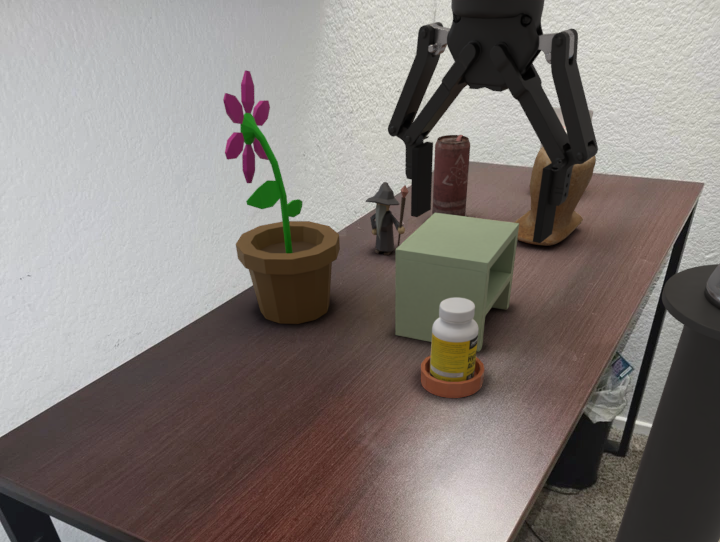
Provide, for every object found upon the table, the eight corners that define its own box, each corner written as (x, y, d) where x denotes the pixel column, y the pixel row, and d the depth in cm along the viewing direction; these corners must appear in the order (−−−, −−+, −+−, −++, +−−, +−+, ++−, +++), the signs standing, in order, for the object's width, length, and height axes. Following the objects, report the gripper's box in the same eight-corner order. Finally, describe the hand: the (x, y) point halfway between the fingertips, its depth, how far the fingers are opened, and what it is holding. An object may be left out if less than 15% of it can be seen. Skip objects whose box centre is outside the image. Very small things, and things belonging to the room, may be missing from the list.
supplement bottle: (472, 392, 78) (479, 317, 72) (427, 389, 79) (430, 314, 73) (475, 368, 82) (482, 295, 76) (431, 365, 83) (435, 293, 77)
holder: (490, 372, 82) (492, 358, 81) (471, 403, 77) (472, 389, 76) (433, 360, 85) (434, 346, 84) (411, 390, 80) (411, 375, 79)
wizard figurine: (361, 254, 112) (358, 180, 104) (377, 243, 115) (375, 170, 107) (404, 263, 108) (405, 187, 101) (419, 251, 112) (421, 176, 104)
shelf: (509, 306, 96) (519, 223, 88) (479, 351, 86) (488, 263, 78) (431, 293, 100) (434, 212, 92) (395, 335, 90) (395, 249, 82)
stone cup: (563, 257, 108) (580, 159, 98) (498, 242, 114) (508, 148, 104) (598, 228, 117) (617, 136, 107) (537, 216, 123) (549, 127, 113)
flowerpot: (273, 282, 105) (245, 61, 85) (357, 293, 100) (348, 63, 81) (228, 323, 95) (185, 83, 75) (320, 337, 90) (299, 87, 71)
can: (470, 216, 124) (476, 135, 114) (457, 228, 119) (463, 144, 110) (440, 212, 126) (443, 131, 117) (427, 223, 122) (429, 141, 112)
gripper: (346, -43, 55) (356, 214, 69) (645, -45, 44) (584, 264, 58) (396, -49, 60) (395, 193, 74) (678, -51, 48) (615, 236, 62)
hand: (478, 225), depth 66 cm, fingers open, 13 cm apart
